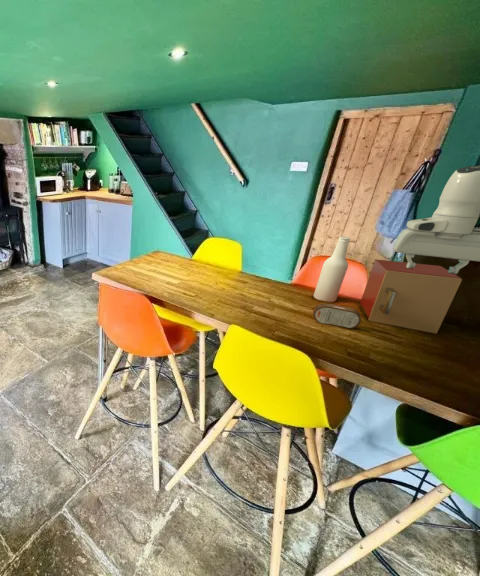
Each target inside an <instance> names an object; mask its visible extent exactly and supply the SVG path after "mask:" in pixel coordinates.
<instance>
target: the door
mask: <svg viewBox="0 0 480 576" xmlns="http://www.w3.org/2000/svg"><path fill="white" fill-rule="evenodd" d="M462 281H463V279H462V278H460V279H459V278H450V277H441V276H432V275H423V274H415V273H406V272H397V271H388V270H386V273H385V275H384V278H383V281H382V283H381V286H380V289H379V292H378V294H377V297H376V300H375V303H374V305H373V308H372V311H371V313H370V316H369V319H368V318H367V320H368V321H369V322H374V323H379V324H385V325H390V326H395V327H399V328H405V329H410V330H415V331H421V332H426V333H431V334H438V332H439V330H440V327H441V325H442V323H443V321H444V319H445V317H446V315H447V313H448V311H449V308H450V307H451V304H452V302H453V300H454V298H455V296H456V294H457V291H458V290H459V288H460V286H461V282H462Z"/></svg>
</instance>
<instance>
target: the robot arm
mask: <svg viewBox="0 0 480 576" xmlns="http://www.w3.org/2000/svg"><path fill="white" fill-rule="evenodd" d="M438 200H439V203H438V206H437V208H436V209H435V211H433V214H432V216H430V217H425V218H417V219H411V220H409V221H407V223H406V228H404V229H403V230H401V232H400V233H399V234H398V236H397V238H396V240H395V242H394V244H393V247H392V249H393V251H394V252H396V253H398V254H405V258H406V261H407V262H406V263H407V266H406V267H407V268H411V269H414V268H415V267H414V266H415V265H416V264H417V263H416V262H414V261H413V260H412V258H415V255H416V256H424V257H433V258H435V257H436V258H443V259H444V258H445V259H454V260H458V261H457V262H459V263H457V264H456V265H454V266H449V268H448V269H447V270H448V273H452V274H455V275H457V274H459V271H460V270H461V269H463V268H464V267H466V266H467V265H468V264H469V262H470V261H473V262H480V227H478V226H477V227H476V224H477V222H478V220H479V218H480V165H469V166H463V167H461V168H458V169H456V170H455V171H454V172H453V173H452V174H451V176H450V177H449V179H448V180H447V182H446V184H445V185H444V188H443V190H442V191H441V194H440V196H439V199H438Z"/></svg>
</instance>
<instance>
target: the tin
mask: <svg viewBox="0 0 480 576" xmlns="http://www.w3.org/2000/svg"><path fill="white" fill-rule="evenodd" d="M312 316H313V318H314V321H316V322H317V323H321V324H326V325H328V324H329V325H333V326H339V327H342V328H343V327H344V328H347V329H355V328H357V327H358V326H359V325H360V324H361V322H362V317H361V314H360V312H359V311H358V310H356V309H355V308H352V307H346V306H342V305H338V304H337V305H336V304H332V303H328V302H327V303H320V304H317V305H316V306H314V308H313V310H312Z"/></svg>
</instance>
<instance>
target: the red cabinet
mask: <svg viewBox="0 0 480 576" xmlns="http://www.w3.org/2000/svg"><path fill="white" fill-rule="evenodd" d="M407 263H408V262H405V261H397V260H396V261H394V260H386V259H385V260H384V259H374V262H373V264H372V267H371V270H370V274H369V277H368V278H367V279H368V280H367V282H366V285H365V287H364V291H363V294H362V297H361V299H360V302H359V305H360V306H362V308H363V310H364V312H365V314H366V316H367V320H368V319H369V316H370V313H371V311H372V308H373V305H374V303H375V300H376V297H377V294H378V292H379V289H380V286H381V283H382V281H383V278H384V275H385V273H386V270H388V271H397V272H406V273H415V274H423V275H432V276H441V277H450V278H459V279H461V277H460V276H458V275H457V274H452V273H448V270H449V269H447V268H445V267H443V266H442V265H436V264H435V265H434V264H424V263H416V265H415V266H414V267H415V268H414V269H411V268H407V267H406V266H407Z"/></svg>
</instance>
